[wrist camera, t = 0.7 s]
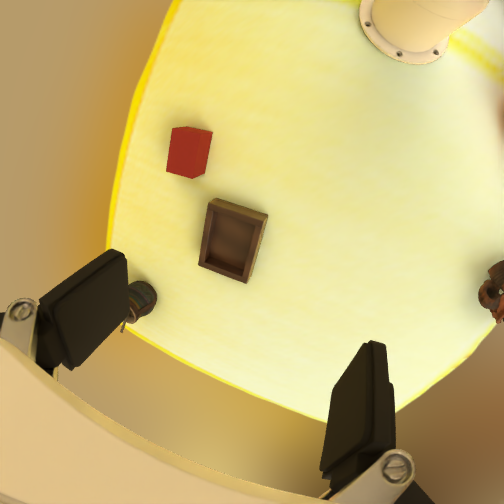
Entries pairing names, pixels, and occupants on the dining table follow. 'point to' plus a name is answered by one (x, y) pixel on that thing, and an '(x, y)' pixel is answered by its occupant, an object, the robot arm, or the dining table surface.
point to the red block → (188, 151)
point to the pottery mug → (494, 292)
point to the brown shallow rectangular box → (231, 239)
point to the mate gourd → (140, 301)
